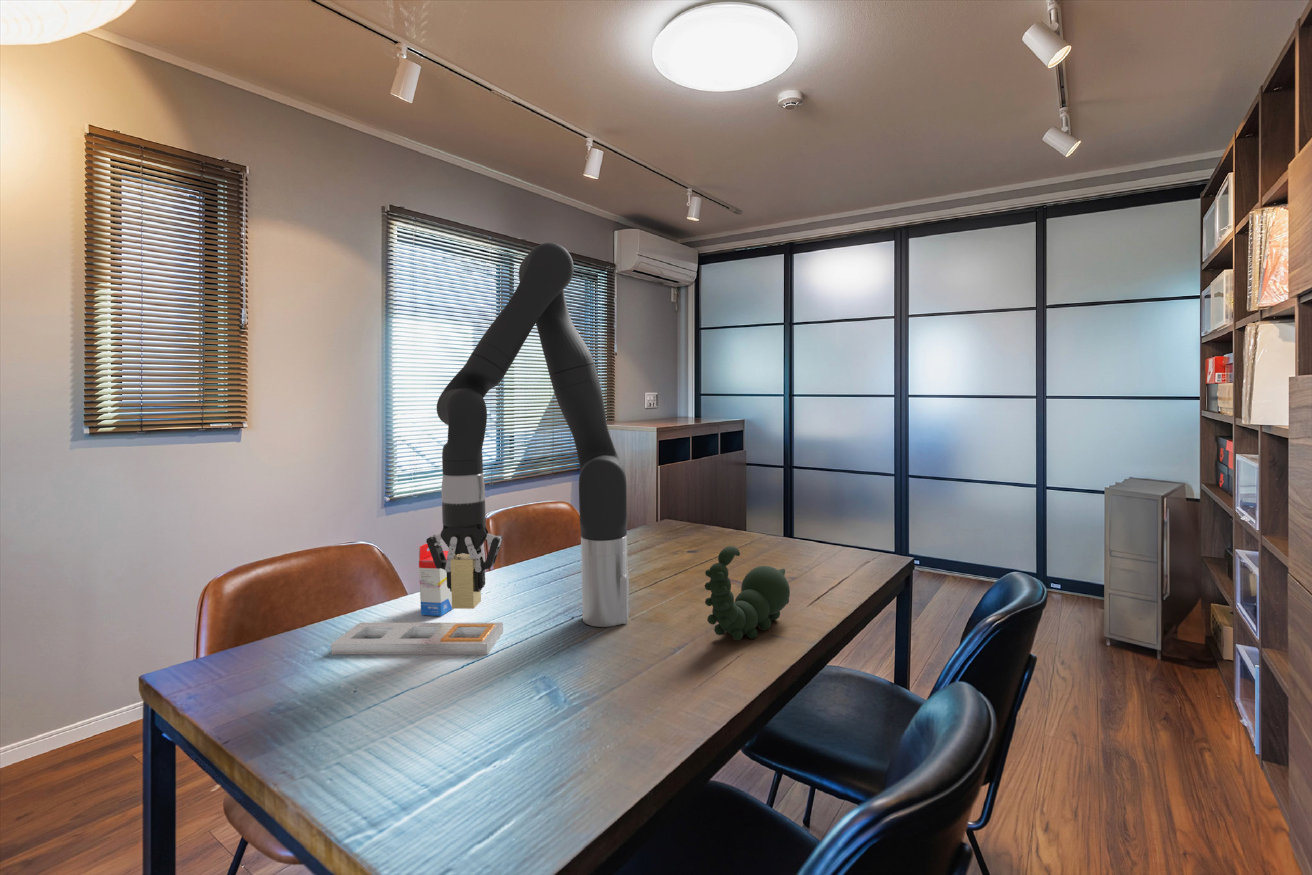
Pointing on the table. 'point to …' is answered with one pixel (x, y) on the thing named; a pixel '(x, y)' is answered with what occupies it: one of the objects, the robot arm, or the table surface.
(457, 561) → the brass block
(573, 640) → the table surface
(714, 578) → the toy figurine
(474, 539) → the robot arm
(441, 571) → the ink box
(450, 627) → the white flat slotted block
